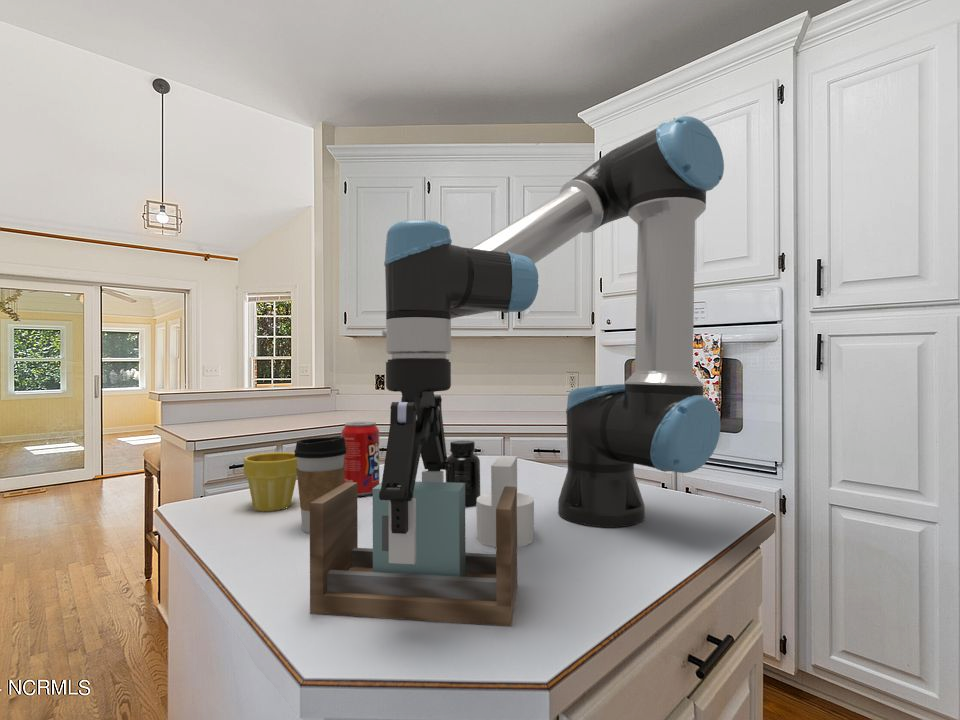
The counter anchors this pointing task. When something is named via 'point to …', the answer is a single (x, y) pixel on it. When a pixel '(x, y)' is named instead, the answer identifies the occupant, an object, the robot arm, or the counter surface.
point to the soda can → (361, 456)
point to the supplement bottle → (465, 469)
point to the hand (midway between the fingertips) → (419, 540)
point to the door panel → (426, 531)
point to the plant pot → (271, 479)
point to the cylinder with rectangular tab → (487, 503)
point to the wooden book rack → (361, 592)
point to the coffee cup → (318, 470)
